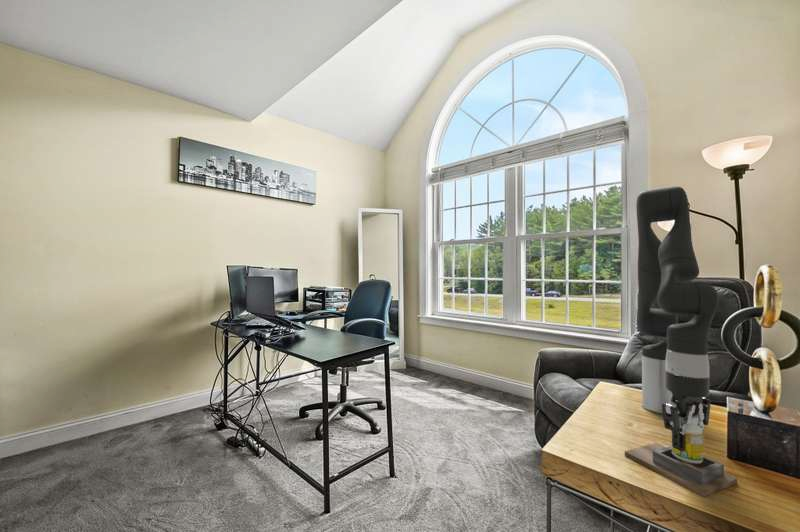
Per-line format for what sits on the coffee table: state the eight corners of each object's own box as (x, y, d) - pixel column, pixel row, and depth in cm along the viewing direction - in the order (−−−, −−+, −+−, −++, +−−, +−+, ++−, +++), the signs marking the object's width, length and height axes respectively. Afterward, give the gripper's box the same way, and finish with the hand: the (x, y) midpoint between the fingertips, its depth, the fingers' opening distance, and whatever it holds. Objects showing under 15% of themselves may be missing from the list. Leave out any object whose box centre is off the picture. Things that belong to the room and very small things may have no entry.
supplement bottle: (709, 464, 72) (709, 420, 72) (685, 464, 72) (685, 419, 72) (688, 451, 77) (688, 410, 77) (665, 450, 77) (665, 409, 78)
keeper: (656, 446, 86) (656, 432, 86) (736, 483, 71) (736, 466, 71) (624, 455, 82) (624, 441, 82) (704, 496, 67) (704, 479, 67)
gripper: (686, 364, 81) (686, 433, 81) (648, 369, 76) (648, 444, 75) (725, 373, 74) (726, 449, 74) (686, 379, 69) (686, 462, 69)
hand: (686, 446), depth 75 cm, fingers closed on supplement bottle, 5 cm apart
